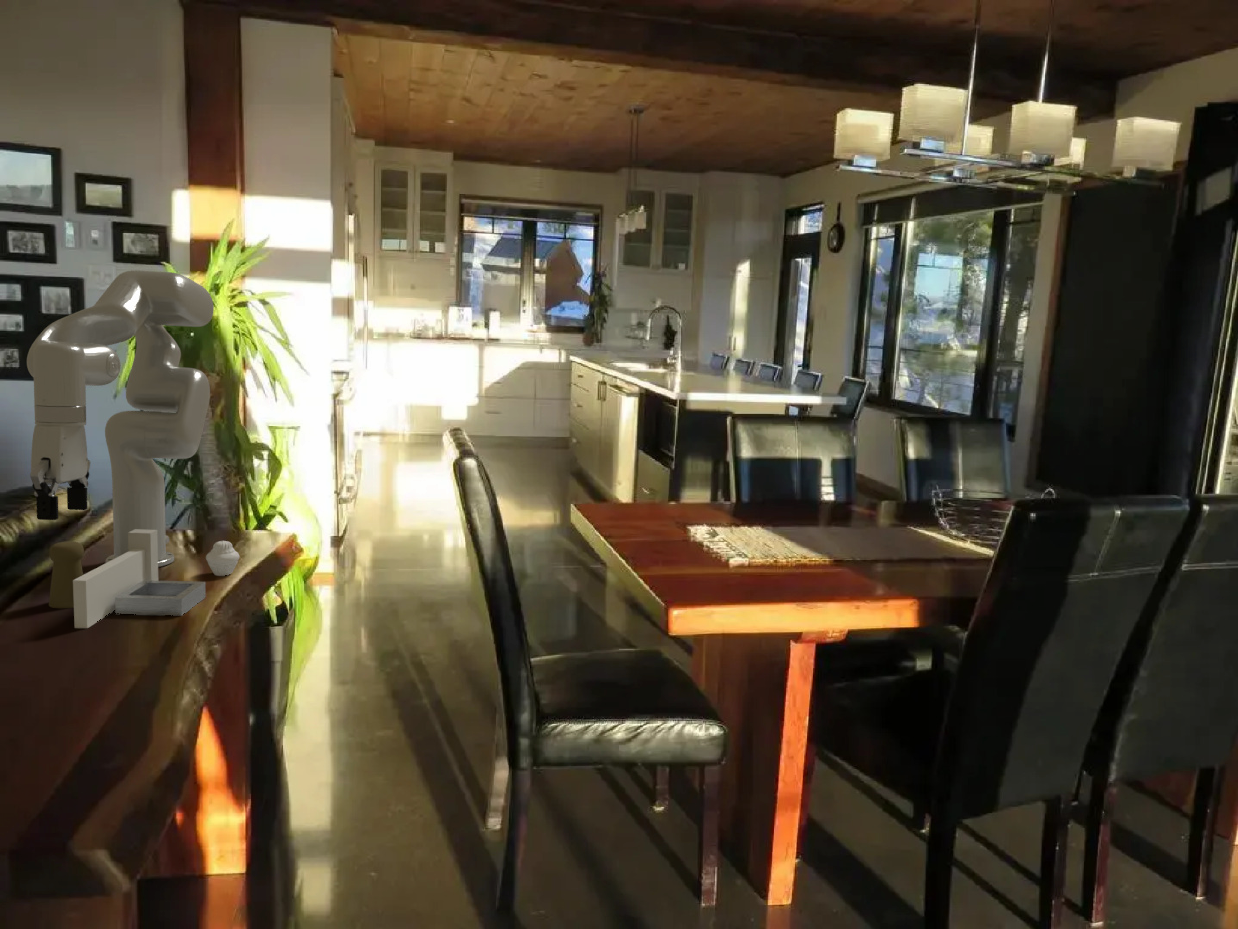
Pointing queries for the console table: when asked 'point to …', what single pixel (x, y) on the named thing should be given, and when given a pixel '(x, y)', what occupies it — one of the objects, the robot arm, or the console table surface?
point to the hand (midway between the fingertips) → (63, 514)
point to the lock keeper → (160, 598)
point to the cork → (64, 572)
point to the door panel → (115, 578)
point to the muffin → (222, 558)
